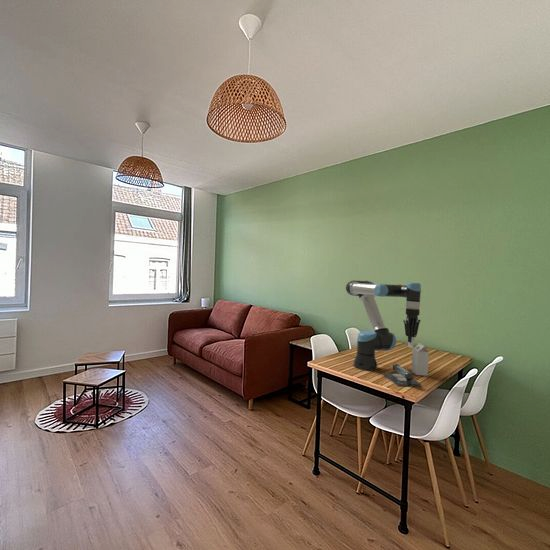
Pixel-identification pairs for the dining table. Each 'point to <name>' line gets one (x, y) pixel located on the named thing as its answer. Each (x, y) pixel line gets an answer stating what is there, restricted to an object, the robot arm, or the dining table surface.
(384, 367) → the dining table surface
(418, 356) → the milk carton
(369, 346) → the robot arm
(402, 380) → the plate
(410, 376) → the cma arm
